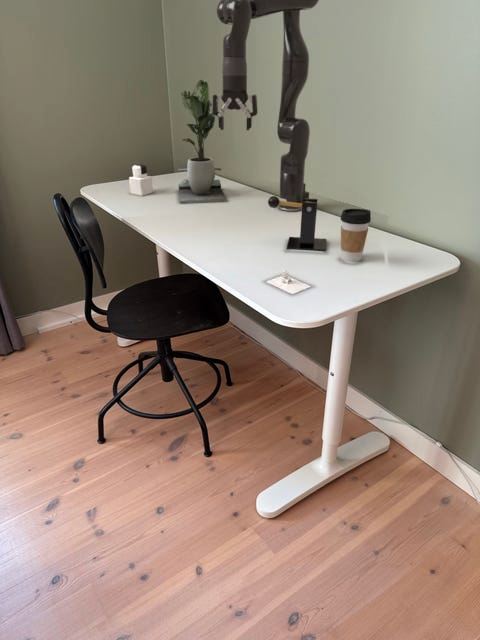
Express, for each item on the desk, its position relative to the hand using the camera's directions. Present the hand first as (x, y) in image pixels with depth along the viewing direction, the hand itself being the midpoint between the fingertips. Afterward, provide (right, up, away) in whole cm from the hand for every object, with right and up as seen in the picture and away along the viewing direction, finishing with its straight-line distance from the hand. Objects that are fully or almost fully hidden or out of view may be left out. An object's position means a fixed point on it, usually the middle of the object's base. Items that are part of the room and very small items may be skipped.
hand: (235, 129), depth 155 cm
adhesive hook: (+14, -53, -28) cm, 61 cm away
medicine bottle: (-42, -6, +55) cm, 70 cm away
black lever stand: (+23, -39, -3) cm, 45 cm away
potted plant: (-15, -8, +51) cm, 54 cm away
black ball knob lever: (+17, -28, -8) cm, 34 cm away
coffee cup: (+35, -44, -13) cm, 58 cm away
